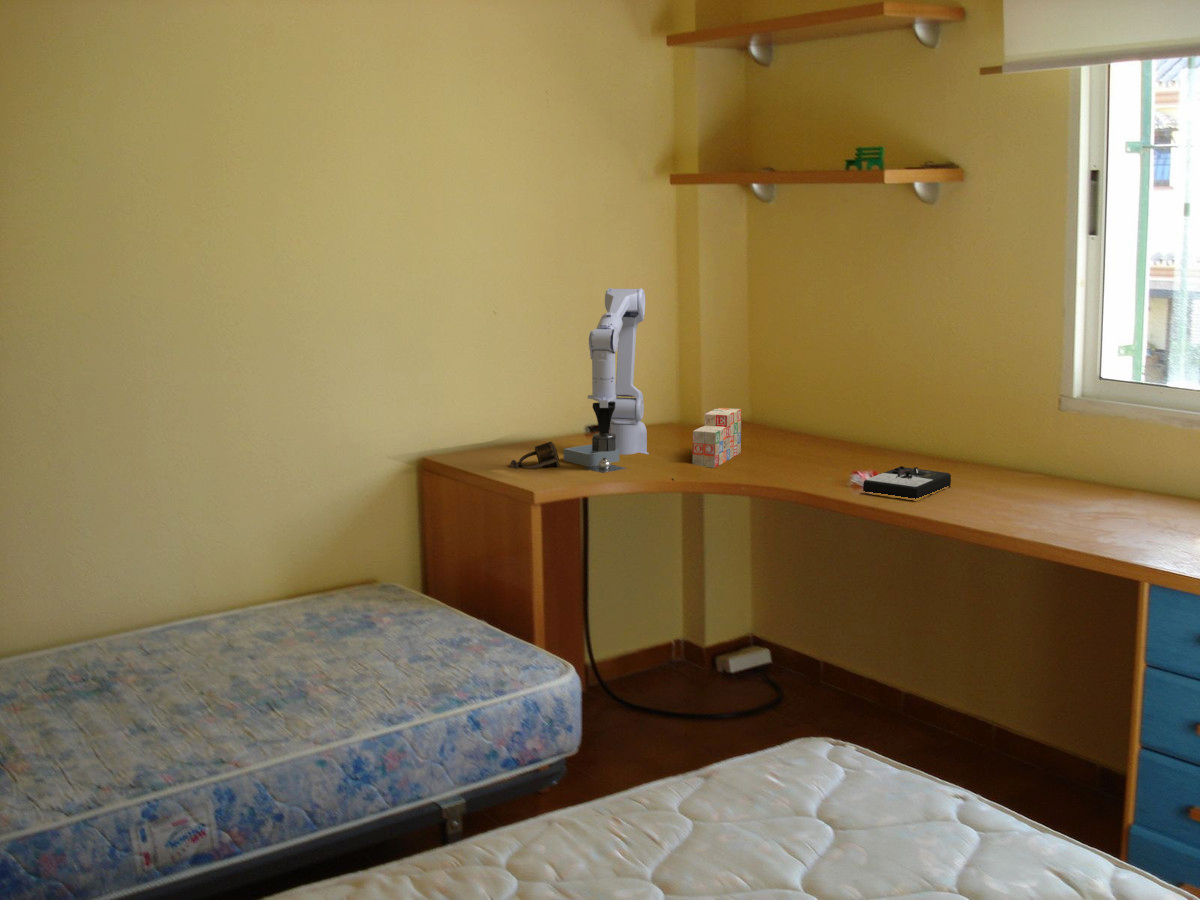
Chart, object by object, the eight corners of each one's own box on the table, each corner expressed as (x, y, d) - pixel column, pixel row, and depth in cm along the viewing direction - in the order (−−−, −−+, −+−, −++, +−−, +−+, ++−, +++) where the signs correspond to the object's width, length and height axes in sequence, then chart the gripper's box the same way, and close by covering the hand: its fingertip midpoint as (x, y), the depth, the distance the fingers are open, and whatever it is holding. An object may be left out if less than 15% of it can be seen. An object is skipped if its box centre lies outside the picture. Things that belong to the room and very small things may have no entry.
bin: (594, 458, 323) (594, 443, 323) (619, 464, 316) (619, 449, 315) (563, 464, 317) (563, 448, 316) (588, 470, 309) (588, 454, 309)
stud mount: (606, 467, 312) (606, 453, 312) (627, 472, 306) (627, 458, 306) (582, 471, 307) (581, 457, 307) (602, 476, 301) (602, 462, 301)
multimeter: (951, 488, 288) (952, 467, 287) (915, 503, 273) (916, 481, 272) (899, 481, 296) (899, 460, 295) (862, 495, 281) (862, 474, 280)
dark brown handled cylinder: (558, 453, 304) (565, 437, 313) (507, 448, 305) (516, 432, 314) (557, 480, 306) (564, 463, 316) (507, 474, 308) (515, 458, 317)
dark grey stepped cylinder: (594, 447, 309) (594, 416, 308) (617, 447, 308) (617, 417, 307) (591, 451, 303) (590, 420, 302) (614, 451, 303) (614, 420, 301)
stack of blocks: (715, 468, 311) (715, 420, 308) (691, 466, 313) (692, 419, 311) (741, 453, 330) (741, 408, 328) (718, 451, 332) (719, 406, 330)
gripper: (588, 374, 310) (588, 427, 312) (586, 382, 295) (587, 437, 298) (616, 373, 310) (616, 427, 312) (616, 381, 295) (616, 437, 298)
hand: (604, 432), depth 305 cm, fingers closed on dark grey stepped cylinder, 3 cm apart
